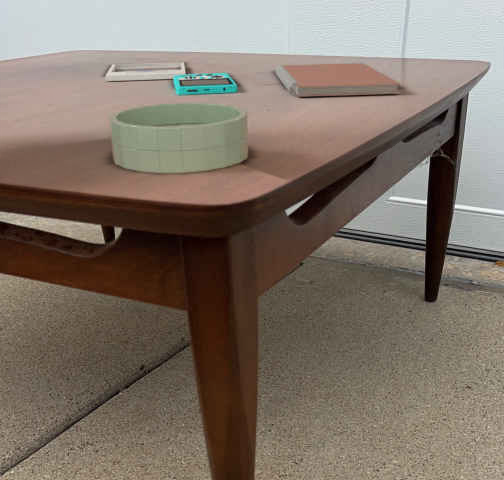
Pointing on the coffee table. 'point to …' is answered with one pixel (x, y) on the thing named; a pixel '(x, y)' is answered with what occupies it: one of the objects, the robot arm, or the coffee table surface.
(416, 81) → the coffee table surface
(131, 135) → the bowl
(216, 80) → the handheld game console
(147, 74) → the photo frame
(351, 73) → the notebook
